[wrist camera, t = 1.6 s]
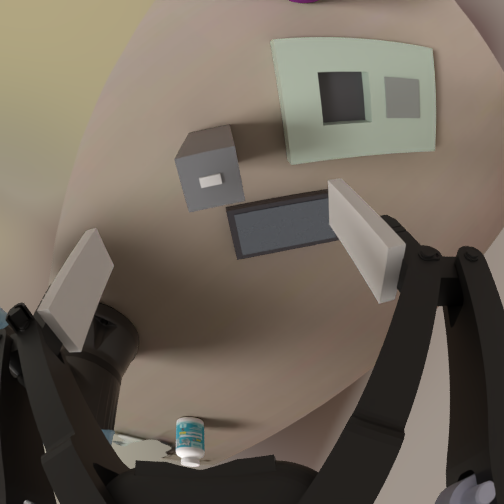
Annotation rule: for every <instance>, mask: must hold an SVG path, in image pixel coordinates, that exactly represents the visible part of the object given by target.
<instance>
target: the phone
mask: <svg viewBox="0 0 504 504" xmlns="http://www.w3.org/2000/svg"><path fill="white" fill-rule="evenodd" d="M226 212H227V217H228V221H229V225H230V230H231V234H232V239H233V243H234V247H235V252H236V256H237V260H239V259H244V258H249V257H254V256H259V255H265V254H270V253H275V252H280V251H285V250H290V249H295V248H301V247H306V246H311V245H316V244H321V243H326V242H331V241H336V240H339V238H338V237H337V235H336V234H335V232H334V231H333V229H332V228H331V226H330V225H329V196H328V189H326V190H320V191H314V192H307V193H301V194H295V195H289V196H284V197H278V198H272V199H267V200H261V201H256V202H251V203H245V204H240V205H235V206H230V207H226Z"/></svg>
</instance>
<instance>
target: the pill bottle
mask: <svg viewBox="0 0 504 504" xmlns="http://www.w3.org/2000/svg"><path fill="white" fill-rule="evenodd" d="M176 454H177V455H178V456H179V457H181V458H182V459H181V464H182V465H185V466H191V467H192V466H193V467H194V466H199V465H200V461H199V459H200V458H202V457H203V456H204V454H205V450H204V423H203V421H202V420H201V419H198V418H195V417H182V418H179V419H178V420H177V427H176Z"/></svg>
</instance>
